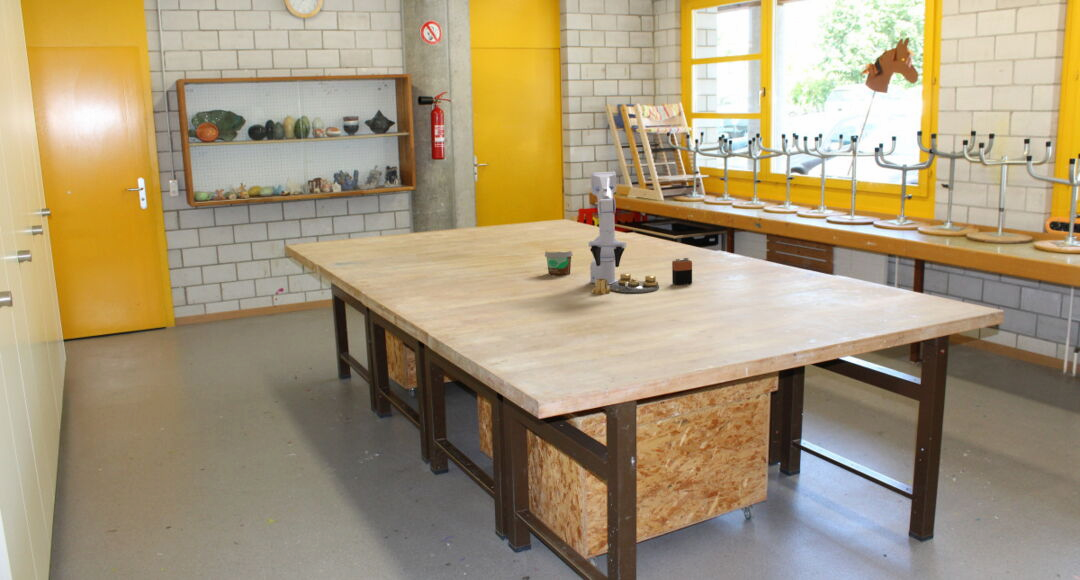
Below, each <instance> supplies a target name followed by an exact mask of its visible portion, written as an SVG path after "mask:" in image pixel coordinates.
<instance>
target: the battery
mask: <svg viewBox="0 0 1080 580" xmlns="http://www.w3.org/2000/svg"><path fill="white" fill-rule="evenodd" d="M671 265H672V267H671V271H672V273H671V274H672V277H671V278H672V279H671V280H672V281H671V282H672V284H673V285H675V286H681V285H682V286H683V285H692V284H693V261H692V260H690V257H683V258H682V259H680V258H676V259H675V260H672V263H671Z"/></svg>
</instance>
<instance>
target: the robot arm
mask: <svg viewBox="0 0 1080 580" xmlns="http://www.w3.org/2000/svg"><path fill="white" fill-rule="evenodd" d="M590 186H591V188H590V189H591V192H592V193H591V194H592V195H594V196H596V198H597V214H598V226H599V227H598V228H599V235H598V236H597V237H596V238H595V239H593V240H590V241H588V247H589V249H590V252H591V254H592V256H593V257H592V258H593V260H592V261H591V262H590V267H589V269H590V270H589V271H590V274H589V275H590V280H589V283H590V284H595V280H596V279H607V285H612V284H614V283H618V280H619V279H616V268H618V267H619V266H620V263H621V258H622V255H623V253H624V251H625V249H626V248H627V242H624V241H618V240H617V238H616V235H615V234H616V233H615V232H616V231H615V225H616V223H615V214H616V199H615V197H614V194H615V192H616V186H617V175H616V172H615V171H614V170H613V171H597V172H594V171H591V173H590Z"/></svg>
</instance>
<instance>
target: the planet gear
mask: <svg viewBox="0 0 1080 580" xmlns="http://www.w3.org/2000/svg"><path fill="white" fill-rule="evenodd" d="M594 284H595V285H594V287H593V288H592V294H596V295H606V294H610V293H611V290H610V287H608V284H607V279H596V280H595V283H594Z"/></svg>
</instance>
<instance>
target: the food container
mask: <svg viewBox="0 0 1080 580" xmlns="http://www.w3.org/2000/svg"><path fill="white" fill-rule="evenodd" d="M544 257H545V258H546V263H547V272H548V275H549V274H550V275H549V276H552V275H555V276H554V277H563V275H564V276H569V275H571V268H572V267H571V266H572V257H573V252H572V250H569V251H564V252H562V251H554V252H553V251H552V252H551V251H548V250H545V252H544Z"/></svg>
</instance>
